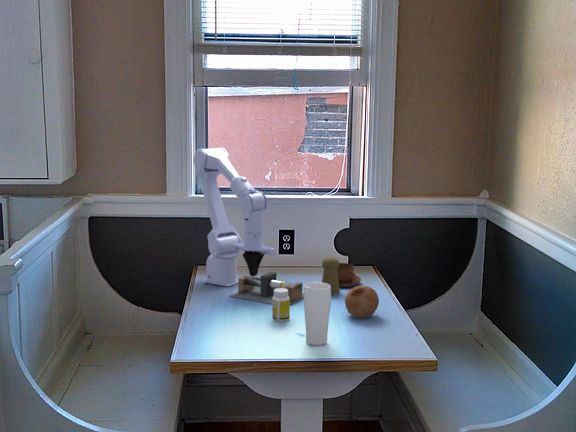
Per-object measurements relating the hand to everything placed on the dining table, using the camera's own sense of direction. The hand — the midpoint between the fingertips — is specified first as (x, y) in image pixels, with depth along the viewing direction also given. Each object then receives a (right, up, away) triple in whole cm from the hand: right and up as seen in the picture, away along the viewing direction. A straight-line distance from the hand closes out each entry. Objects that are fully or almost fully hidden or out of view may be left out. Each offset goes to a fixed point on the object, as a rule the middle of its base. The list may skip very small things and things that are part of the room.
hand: (253, 275), depth 225 cm
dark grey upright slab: (+5, -6, -2) cm, 8 cm away
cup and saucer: (+28, -4, +12) cm, 31 cm away
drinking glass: (+18, -14, -41) cm, 47 cm away
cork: (+24, -6, +2) cm, 24 cm away
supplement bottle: (+9, -11, -23) cm, 27 cm away
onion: (+31, -10, -20) cm, 38 cm away
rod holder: (+5, -6, -2) cm, 8 cm away
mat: (+5, -6, -2) cm, 8 cm away
